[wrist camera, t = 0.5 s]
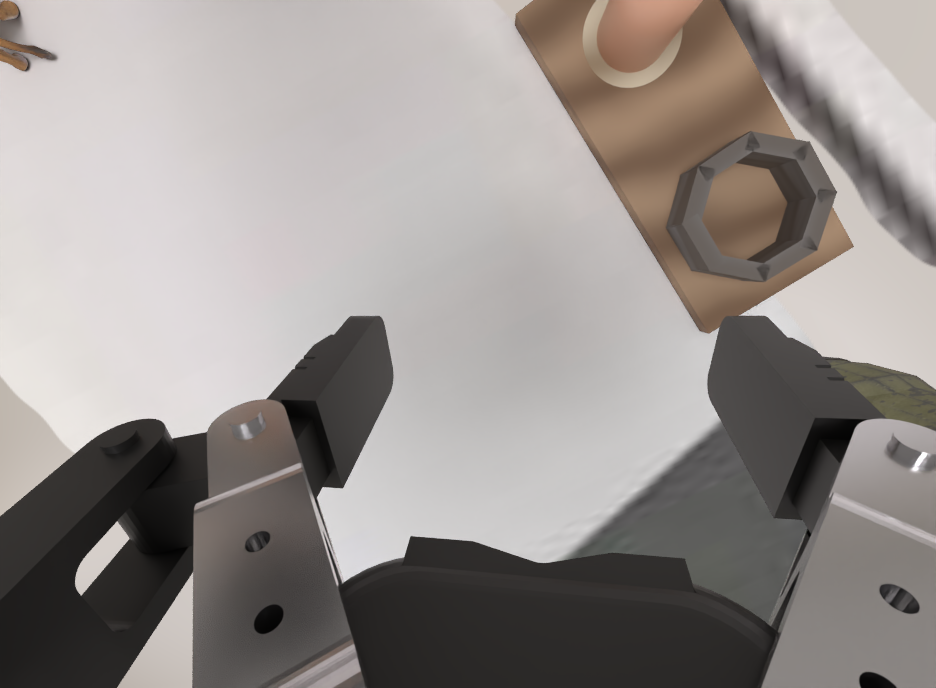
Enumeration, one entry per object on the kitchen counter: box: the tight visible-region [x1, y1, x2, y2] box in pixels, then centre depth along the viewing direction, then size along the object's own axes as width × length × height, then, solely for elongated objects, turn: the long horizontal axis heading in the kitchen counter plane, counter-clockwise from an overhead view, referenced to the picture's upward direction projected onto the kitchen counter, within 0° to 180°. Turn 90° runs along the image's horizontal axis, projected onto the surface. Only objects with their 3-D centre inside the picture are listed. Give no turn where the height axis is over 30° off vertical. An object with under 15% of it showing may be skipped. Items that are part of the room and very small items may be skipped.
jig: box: [515, 0, 854, 334], centre depth 31 cm, size 28×12×4 cm, turn 34°
